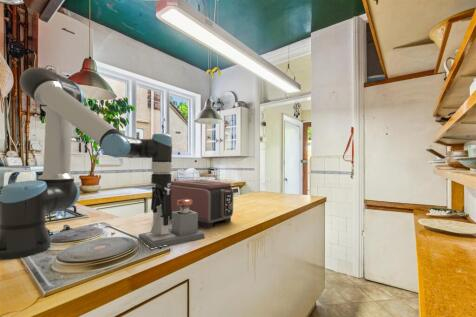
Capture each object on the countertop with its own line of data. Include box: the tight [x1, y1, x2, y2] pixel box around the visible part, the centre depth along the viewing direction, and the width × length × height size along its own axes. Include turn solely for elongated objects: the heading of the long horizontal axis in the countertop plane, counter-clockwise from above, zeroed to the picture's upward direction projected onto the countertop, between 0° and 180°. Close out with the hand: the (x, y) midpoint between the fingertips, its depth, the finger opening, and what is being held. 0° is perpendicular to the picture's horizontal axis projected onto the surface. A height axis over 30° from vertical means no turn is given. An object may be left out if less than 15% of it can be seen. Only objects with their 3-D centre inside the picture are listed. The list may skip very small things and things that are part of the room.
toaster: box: [168, 179, 234, 229], centre depth 127 cm, size 19×36×21 cm, turn 53°
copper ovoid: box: [177, 199, 193, 214], centre depth 101 cm, size 6×6×8 cm
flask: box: [150, 205, 171, 234], centre depth 94 cm, size 7×7×10 cm
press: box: [138, 210, 205, 249], centre depth 97 cm, size 22×14×10 cm, turn 130°
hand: (160, 230), depth 94 cm, fingers closed on flask, 8 cm apart
